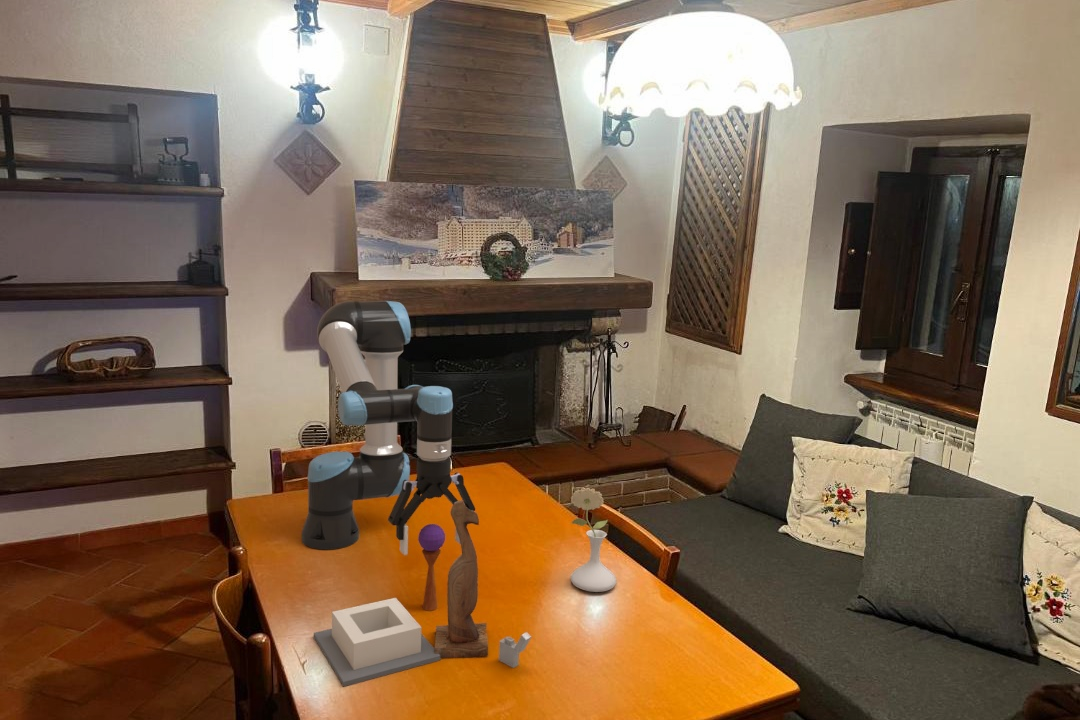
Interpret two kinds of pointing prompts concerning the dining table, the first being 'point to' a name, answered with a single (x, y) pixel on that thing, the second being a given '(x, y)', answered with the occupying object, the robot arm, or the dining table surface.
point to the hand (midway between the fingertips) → (431, 547)
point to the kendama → (431, 560)
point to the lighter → (512, 649)
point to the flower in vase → (592, 546)
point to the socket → (374, 642)
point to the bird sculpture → (462, 597)
